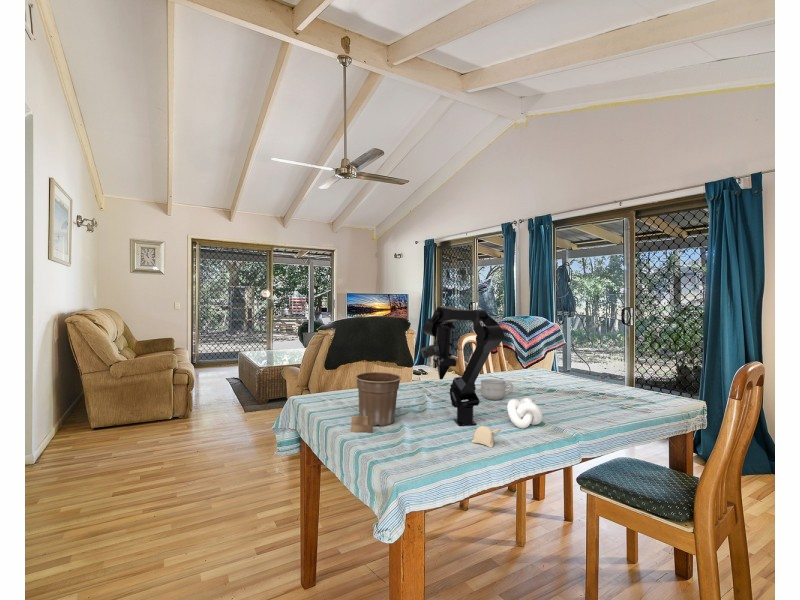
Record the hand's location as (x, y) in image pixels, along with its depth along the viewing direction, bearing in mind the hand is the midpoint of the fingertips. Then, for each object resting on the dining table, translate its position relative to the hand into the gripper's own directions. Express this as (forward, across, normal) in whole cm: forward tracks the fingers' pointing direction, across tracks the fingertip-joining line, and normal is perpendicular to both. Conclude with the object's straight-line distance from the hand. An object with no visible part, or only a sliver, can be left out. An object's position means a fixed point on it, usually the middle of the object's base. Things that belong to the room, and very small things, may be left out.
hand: (440, 379), depth 158 cm
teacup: (+13, -17, +30) cm, 37 cm away
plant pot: (+14, +9, -24) cm, 29 cm away
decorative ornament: (+11, +34, +7) cm, 36 cm away
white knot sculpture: (+11, +17, +26) cm, 33 cm away
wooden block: (+14, +8, -29) cm, 33 cm away
